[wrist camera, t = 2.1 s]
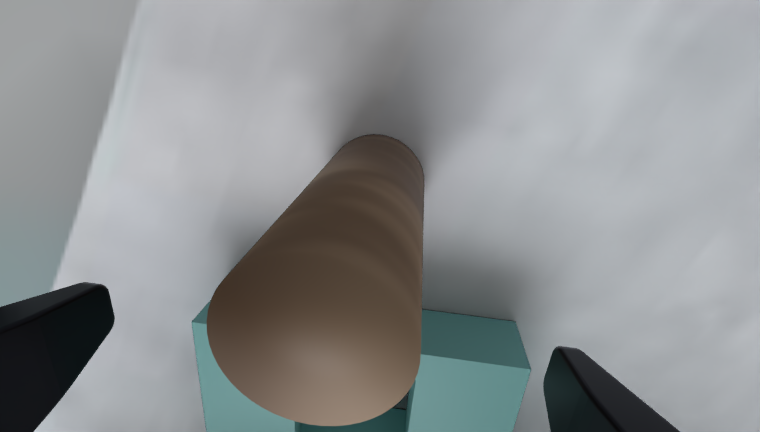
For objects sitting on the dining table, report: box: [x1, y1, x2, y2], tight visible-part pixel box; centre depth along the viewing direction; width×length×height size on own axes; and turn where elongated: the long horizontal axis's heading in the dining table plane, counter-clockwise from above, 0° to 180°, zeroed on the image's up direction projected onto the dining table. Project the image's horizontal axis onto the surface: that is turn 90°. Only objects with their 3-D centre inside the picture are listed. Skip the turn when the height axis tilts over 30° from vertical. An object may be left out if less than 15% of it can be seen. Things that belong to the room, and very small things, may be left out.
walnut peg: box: [206, 134, 424, 426], centre depth 12 cm, size 4×4×10 cm
